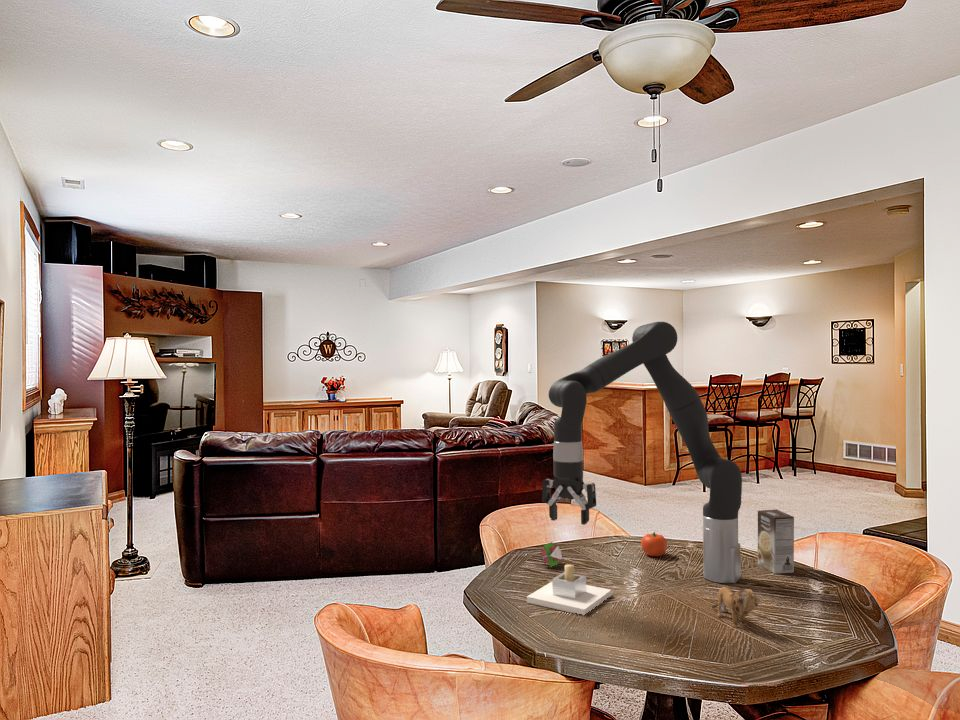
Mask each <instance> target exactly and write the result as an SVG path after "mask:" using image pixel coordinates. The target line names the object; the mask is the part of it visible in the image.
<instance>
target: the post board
mask: <svg viewBox="0 0 960 720" xmlns="http://www.w3.org/2000/svg"><path fill="white" fill-rule="evenodd" d="M564 572H565V580H568V581H574V574H575V565H574V564H571V563H569V564H565V565H564ZM608 597H609V598H610V597H612V589H609V588H604V587H599V586H594V585H590V584H586V592H585V593H584V594H583V595H581V596H580V597H578V598H577V599H571V598H566V597H562V596H557V595H553V587H552V581H550V582H549V583H546V584H545V585H544V586H542V587H540V588H538V589H537V590H535V591H534V592H532V593H530V594H529V595H527V596H526V603H528V604H532V605H536V606H541V607H544V608H550V609H554V610H558V611H563V612H567V613H570V614H575V613H577V614H576V615H579V614H582V615H581V616H584V615H585V614H586V613H588V612H589V611H590V612H592V611H593V610H595V607H596V606H597V607H598V606H600V605H601V604H602V603H603V601H604V600H605V601H606V600H608V599H609V598H608ZM607 598H608V599H607ZM605 601H604V602H605ZM600 603H601V604H600ZM599 604H600V605H599ZM597 607H596V608H597ZM592 609H593V610H592ZM591 610H592V611H591ZM590 612H589V613H590ZM589 613H588V614H589ZM586 615H587V614H586ZM586 615H585V616H586Z"/></svg>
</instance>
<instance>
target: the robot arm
mask: <svg viewBox="0 0 960 720" xmlns="http://www.w3.org/2000/svg"><path fill="white" fill-rule="evenodd" d="M677 342H678V333H677V330H676V329H675V327H674V326H673V325H672V324H671V323H668V322H667V321H654V322H651V323H646V324H642V325H640V326H638V327H636V328H635V329H634V330H633V333H632V343H629V344H627V345H626V346H624V347H622V348H619V349H616V350H614V351H612V352H610V353H609V354H606V355H604V356H602V357H600V358H598V359H596V360H594V361H593V362H592V363H589V364H588V365H587V366H585V367H584V368H582V369H580V370H578V371H575V372H573V373H570V374H567V375H566V376H563V377H561V378H559V379H558V380H556V381H554V382H553V383H552V384H551V386H550V388H549V390H548V399H549V401H550V403H551V404H552V405H554V406H556V407H558V408H561V413H560V414H561V415H560V417H558V418H556V419H555V420H554V424H553V449H552V450H553V453H552V459H553V467H552V468H553V479H551V478H549V477H548V478H546V479H543V480H542V488H541V489H542V490H541V501H542V503H543V504H544V503H545V504H547V505H548V511H549V512H548V514H549V515H548V516H549V518H550V520H551V521H554V522H555V521H556V520H558V504H557V503H558V501H559V500H560V499H568V500H574V501H575V503H577V504H578V506H580V524H581V525H583V526H584V525H587V524H588V522H589V521H590V510H591V509H593V508H595V507H596V506H597V493H596V491H597V490H596V484H595V483H594V482H590V483H585V482H584V449H583V448H584V447H583V437H582V436H583V435H582V432H583V431H582V426H583V425H582V424H583V420H584V416H585V413H586V407H587V402H588V401H587V399H588V398H587V396H588V395H587V394H593V393H596V392H599V391H601V390H602V389H605V387H607V386H609V385H610V384H611V383H613V382H615V381H617V380H618V379H620V378H621V377H622V376H624V375H625V374H627V373H629V372H630V371H633V369H634V370H635V369H636V368H637V367H639V366H641V365H643V366H644V368H646V371H647V372H648V374H649V376H650V377H651V379H652V381H653V382H654V384H655V386H656V388H657V391H658V392H659V395H660V396H661V398H662V400H663V402H664V404H665V407H666V409H667V411H668V413H669V416H670V418H671V420H672V421H673V422H672V423H674V425H675V426H676V429H677V431H678V433H679V435H680V437H681V438H682V442H683V443H684V445H685V446H686V449H687V451H688V453H689V455H690V456H689V457H690V458H691V461H692V464H693V467H694V469H695V473H696V474H697V477H698V479H699V481H700V482H701V484H702V485H703V486H704V487H706V488H707V489H709V500H708V502H706V503H704V504H703V506H702V553H703V554H702V555H703V556H702V559H703V561H702V564H703V565H702V566H703V567H702V570H703V575H702V576H703V577H704V579H705V580H708V581H711V582H714V583H722V584H723V583H724V584H736V583H737V582H738V581H739V580H740V579H741V577H742V575H741V569H742V568H741V543H740V542H739V511H740V509H741V506H742V505H741V504H742V494H743V493H742V492H743V491H742V490H743V489H742V488H743V477H742V472H741V469H740V466H738V464H737V463H735V462H734V461H732V460H729V459H726V458H722V456H721V455H720V454H719V452H718V451H717V449H716V447H715V445H714V444H713V441H712V439H711V436H710V431H709V429H710V428H709V419H708V413H707V410H706V408H705V406H704V404H703V401H702V398H701V397H700V395H699V393H698V391H697V390H696V389H695V387H694V386H693V385H692V384H691V383H690V382H689V381H688V380H687V379H686V378H685V377H684V376H683V375H681V373H679V372H678V370H676V369H675V367H674V366H673V365H672V364H671V362H670V359H669V358H668V356H667V354H669V353H671V352H672V351H673V350H674V349H675V347H677V346H676V345H677ZM552 488H554V490H555V491H554V493H553V494H552V495H551V493H552ZM583 491H585V492H586V496H587V499H586V496H585V494H584V492H583Z"/></svg>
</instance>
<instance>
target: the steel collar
mask: <svg viewBox="0 0 960 720" xmlns="http://www.w3.org/2000/svg"><path fill="white" fill-rule="evenodd" d="M551 582H552V587H553V595H557V596H562V597H566V598H571V599H577V598H578V597H580V596H581V595H583V594H584V593H585V592H586V585H587V576H586V575H581V574H577V573H574V581H568V580H565V571H563V572H561V573H559V575H556V576H555V577H553V578H552V581H551Z"/></svg>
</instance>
